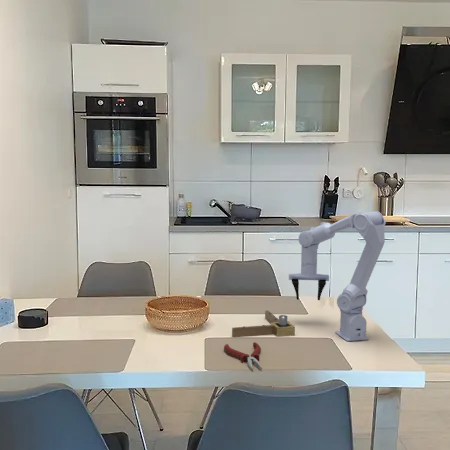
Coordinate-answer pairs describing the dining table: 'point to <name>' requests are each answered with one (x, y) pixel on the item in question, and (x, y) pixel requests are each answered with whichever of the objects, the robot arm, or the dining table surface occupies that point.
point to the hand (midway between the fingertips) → (308, 299)
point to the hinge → (265, 328)
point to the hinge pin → (282, 321)
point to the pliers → (245, 355)
